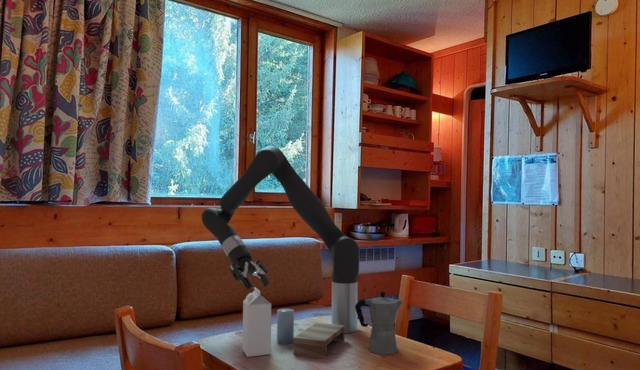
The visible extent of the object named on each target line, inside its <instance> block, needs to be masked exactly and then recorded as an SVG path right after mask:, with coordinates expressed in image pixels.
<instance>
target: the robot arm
mask: <svg viewBox="0 0 640 370" xmlns="http://www.w3.org/2000/svg"><path fill="white" fill-rule="evenodd" d="M271 174H272V175H273V176H274V177H275V178H276V180H277V181H278V182H279V183H280V185H281V187H282V188H283V190H284V193H285V195H286V197H287V200H288V202H289V204H290V205H291V207H292V208H293V210H295V212H296V213H297V214H298V216H299V217H301V218H300V219H302V220H303V221H304V222H305V223H306V225H308V226H309V228H310V229H311V230H313V232H315V234H317V235H318V236H319V238H320V239H321V241H322V242H323V243H324V245H325V247H326V248H327V249H328V251H329V252H330V254H331V256H332V258H333V267H332V268H333V270H332V273H331V324H335V325H345V334H353V333H356V332H357V331H358V315H357V312H356V309H355V305H356V304H357V303H358V277H359V273H360V249H359V248H360V247H359V245H358V243H357V241H356V240H355V239H353V238H351V237H348V236H347V235H346V234H345V233H344V232H343V231H342V230H341V229H340V228H339V227H338V225H336V224H335V222H334V220H333V219H332V218H331V216H330V214H329V212H328V210H327V209H326V206H325V205H324V203H323V202H322V201H321V200H320V198H319V197H318V196H317V194H316V193H315V192H314V191H313V190H312V189H311V188H310V187H309V185H308V184H307V183H306V182H305V181H304V180H303V178H302V177H301V176H300V175H299V174H298V173H297V171H296V170H295V169H294V167H293V166H292V165H291V163H290V161H289V159H288V158H287V157H286V155H285V153H284V152H283V151H282V150H281V148H278V147H277V146H274V145H267V146H266V147H263V148H261V149H260V150H258V151H257V153H256V154H255V156H254V158H253V159H252V161H251V162H250V163H249V165H248V167H247V168H246V170H244V173H243V174H242V175H241V176H240V177H239V178H238V179H237V180H236V181H235V183H233V184H232V185H231V186H230V188H228V189H227V191H226V192H225V193H223V195H222V196H221V198H220V199H219V201H218V203H219V206H220V207H219V208H215V207H208V208H205V209H204V210H203V211H202V212H201V213H202V214H201V222H202V224H203V225H204V227H205V228H206V229H207V230H208V231H209V233H210V234H212V235H213V236H214V237H215V238H216V239H217V240H218V243H219V245H221V248H222V249H223V252H224V253H225V255H226V258H228V259H229V261H230V263H231V265H230V266H229V267H228V269H229V271H230V272H231V274H232V277H233V278H234V280H235V281H236V282H238V281H240V282H242V284H243V286H244V287H245V288H246V290H247V291H250V290H251V289H252V288H253V284H252V283H251V280H250V279H249V278H248V277H247V275H251V276H252V275H253V277H255V276H256V277H258V278H259V280H260V282H261V283H262V284H263V286H264V287H265V288H266V287H268V286H269V285H270V280H269V279H268V277H267V276H266V275H267V274H268V272H269V271H268V269H267V268H266V266H264V264H263V263H262V261H261V260H260V259H257V261H254V260H253V259H252V256H253V255H252V252H250V250H249V248H248V247H247V245H246V244H245V242H244V241H243V239H242V238H241V237H240V235H239V234H238V233H237V231H236V229H235V228H234V227H233V226H232V225H229V223H230V221H231V220H232V218H233V216H234V214H235V211H236V210H237V209H238V208H239V207H240V206H241V205H242V204H243V203H244V202H245V200H246V199H248V196H249V195H250V194H251V193H252V191H253V190H254V189H255V187H257V185H258V184H260V183H261V182H262V181H263V180H264V179H266V178H267V177H268V176H270V175H271Z"/></svg>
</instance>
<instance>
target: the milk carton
mask: <svg viewBox="0 0 640 370" xmlns="http://www.w3.org/2000/svg"><path fill="white" fill-rule="evenodd" d="M253 289H254V290H253V291H252V292H250V293H248V294H247V295H246V297H245V299H244V300H243V301H242V351H243V353H244V354H245V356H246V357H248V358H249V357H257V356H265V355H271V354H272V303H271V302H270V301H268V300H267V299H266V298H265V297H264V296H262V295H261V290H259V289H258V288H257V287H253Z"/></svg>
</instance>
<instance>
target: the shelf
mask: <svg viewBox="0 0 640 370" xmlns="http://www.w3.org/2000/svg"><path fill="white" fill-rule="evenodd" d="M345 334H346V333H345V325H335V324H332V323H321V322H315V323H313V324H312V325H311V326H309V327H307V328H306V329H305V330H303V331H301V332H300V333H298V334H297V335H294V342H293V351H292V352H293V354H292V355H294V356H301V357H309V358H316V359H318V358H319V359H325V360H326V359H327V357H328V356H327V355H328V354H327V353H328V351H327V350H328V349H327V347H328V346H327V345H329V344H330V343H331V342H340V343H344V342H345V337H346V335H345Z"/></svg>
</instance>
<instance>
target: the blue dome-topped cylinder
mask: <svg viewBox="0 0 640 370" xmlns="http://www.w3.org/2000/svg"><path fill="white" fill-rule="evenodd" d="M276 311H277V312H276V343H277V344H282V345H287V344H292V343H293V344H294V337H295V334H294V333H295V330H294V329H295V310H294V309H293V308H279V309H277V310H276Z"/></svg>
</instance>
